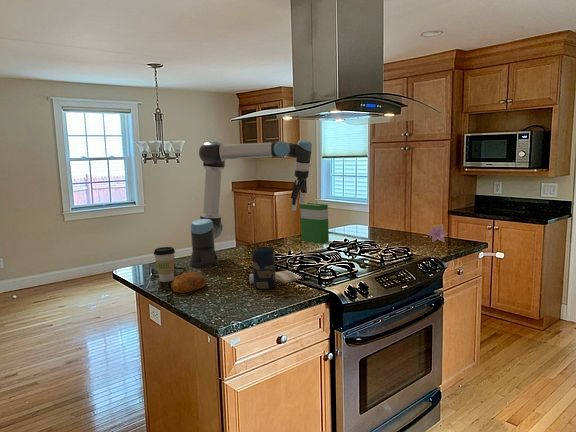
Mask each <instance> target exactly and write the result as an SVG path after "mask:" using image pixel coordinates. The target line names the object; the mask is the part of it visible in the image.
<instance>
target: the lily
mask: <svg viewBox="0 0 576 432" xmlns="http://www.w3.org/2000/svg"><path fill="white" fill-rule="evenodd" d="M430 229H431V230H429V231H426V232H425V235H427V236H430V237H432V238H431V242H433V243H434V242H435V241H437V240H439V241H441V242H442V243H445V242H446V241H445V237H444V236H447V235H448V234H449V232H447V231H444V224H443V223H441V224H440V225H439V226H436V227H435V226H434V225H430Z"/></svg>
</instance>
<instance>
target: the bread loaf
mask: <svg viewBox="0 0 576 432" xmlns="http://www.w3.org/2000/svg"><path fill="white" fill-rule="evenodd" d="M206 285H207V278H205V276H203V275H202V274H201V273H199V272H192V271H188V272H184V273H182V274H179V275H177V276H174V277H173V280H172V281H171V283H170V289H171V290H172V291H174V292H175V293H178V294H184V293H190V292H193V291H196V290H199V289H202V288H204V287H205V286H206Z"/></svg>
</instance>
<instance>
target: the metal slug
mask: <svg viewBox="0 0 576 432" xmlns="http://www.w3.org/2000/svg"><path fill="white" fill-rule="evenodd" d="M248 276H249V277H248V278H249V279H248V280H249V285H254V276H253V273H249V274H248Z"/></svg>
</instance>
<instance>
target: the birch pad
mask: <svg viewBox="0 0 576 432" xmlns="http://www.w3.org/2000/svg"><path fill="white" fill-rule="evenodd" d="M288 270H289V269H288ZM288 270H282V271H275V278H276V282H278V283H281V284H286V283H293V282H296V280H297V281H299V280H298V279H301V278H302V277H301V276H299V275H297V274H295V273H293V272H291V271H288Z"/></svg>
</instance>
